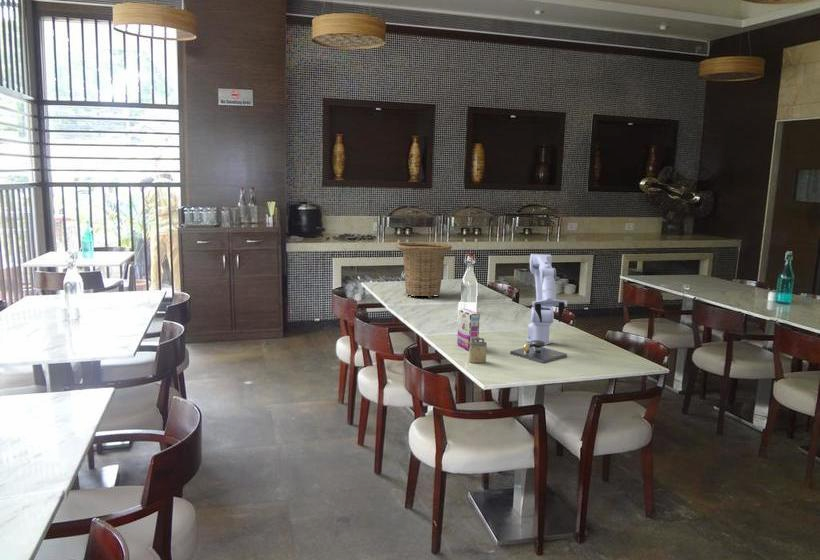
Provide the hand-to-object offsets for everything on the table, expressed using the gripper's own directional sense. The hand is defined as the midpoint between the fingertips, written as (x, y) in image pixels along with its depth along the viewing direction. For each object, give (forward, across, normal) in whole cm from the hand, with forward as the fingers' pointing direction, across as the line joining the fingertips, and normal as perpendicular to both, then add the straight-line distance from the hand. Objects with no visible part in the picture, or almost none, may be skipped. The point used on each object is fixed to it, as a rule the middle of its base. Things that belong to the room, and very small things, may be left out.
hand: (550, 321), depth 260 cm
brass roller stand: (+9, -7, +9) cm, 15 cm away
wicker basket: (-72, -74, +104) cm, 146 cm away
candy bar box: (+6, -36, +13) cm, 39 cm away
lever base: (+11, -5, +11) cm, 16 cm away
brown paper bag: (+20, -30, -4) cm, 36 cm away
